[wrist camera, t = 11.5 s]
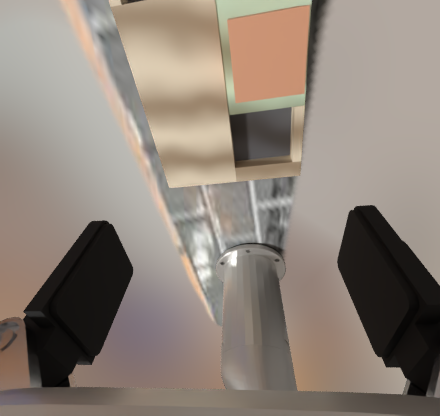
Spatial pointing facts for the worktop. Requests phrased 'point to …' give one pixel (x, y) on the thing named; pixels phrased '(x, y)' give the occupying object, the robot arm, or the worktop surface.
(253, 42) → the block
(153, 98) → the board
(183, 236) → the worktop surface
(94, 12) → the worktop surface
